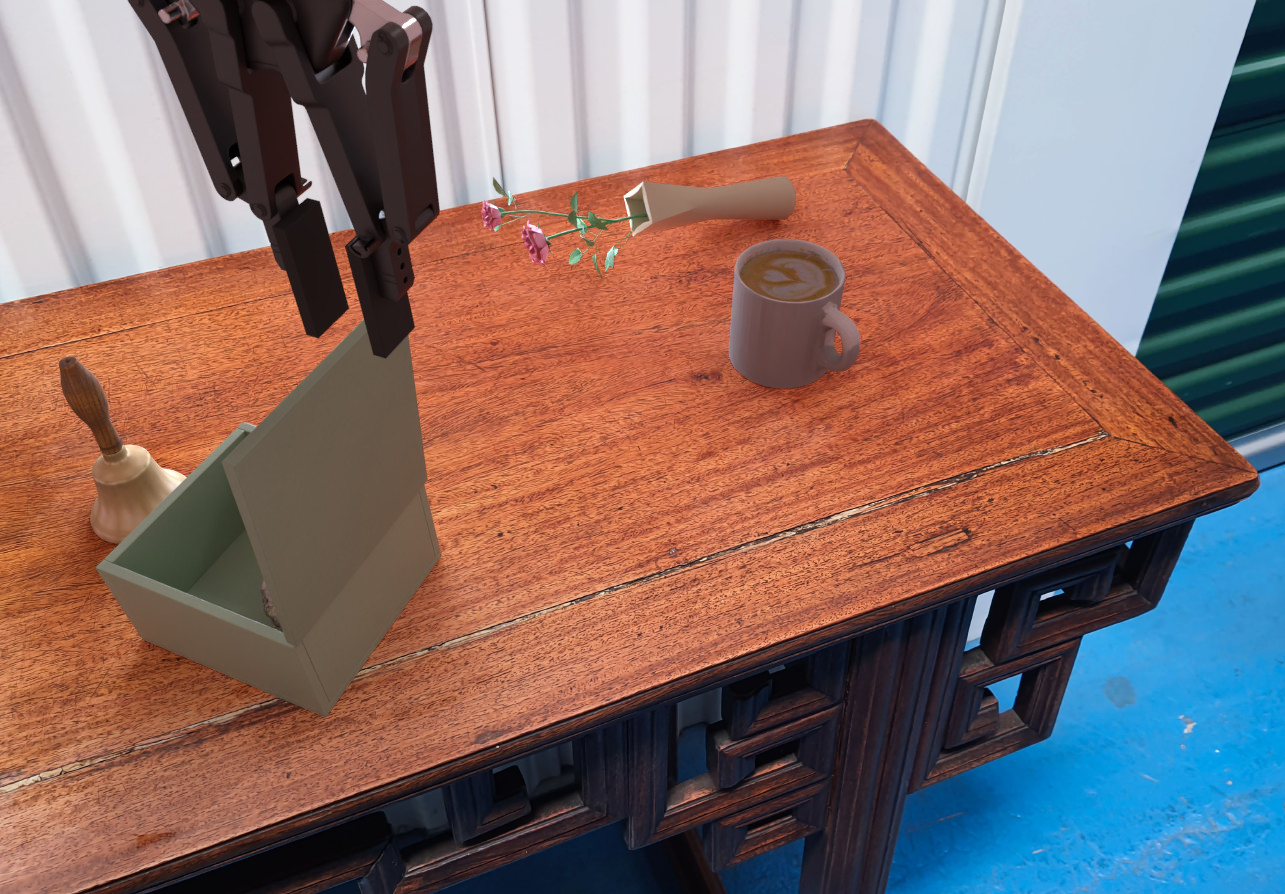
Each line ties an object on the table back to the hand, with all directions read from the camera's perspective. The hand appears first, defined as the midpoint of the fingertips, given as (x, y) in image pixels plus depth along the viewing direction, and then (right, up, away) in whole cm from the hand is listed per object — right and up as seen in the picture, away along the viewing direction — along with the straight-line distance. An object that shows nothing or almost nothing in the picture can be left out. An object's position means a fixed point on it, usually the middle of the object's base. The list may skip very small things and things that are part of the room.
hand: (360, 330), depth 51 cm
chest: (-12, -18, +26) cm, 33 cm away
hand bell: (-27, -11, +32) cm, 44 cm away
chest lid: (-4, -7, +10) cm, 14 cm away
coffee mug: (+29, +2, +45) cm, 53 cm away
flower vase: (+15, +15, +57) cm, 61 cm away
